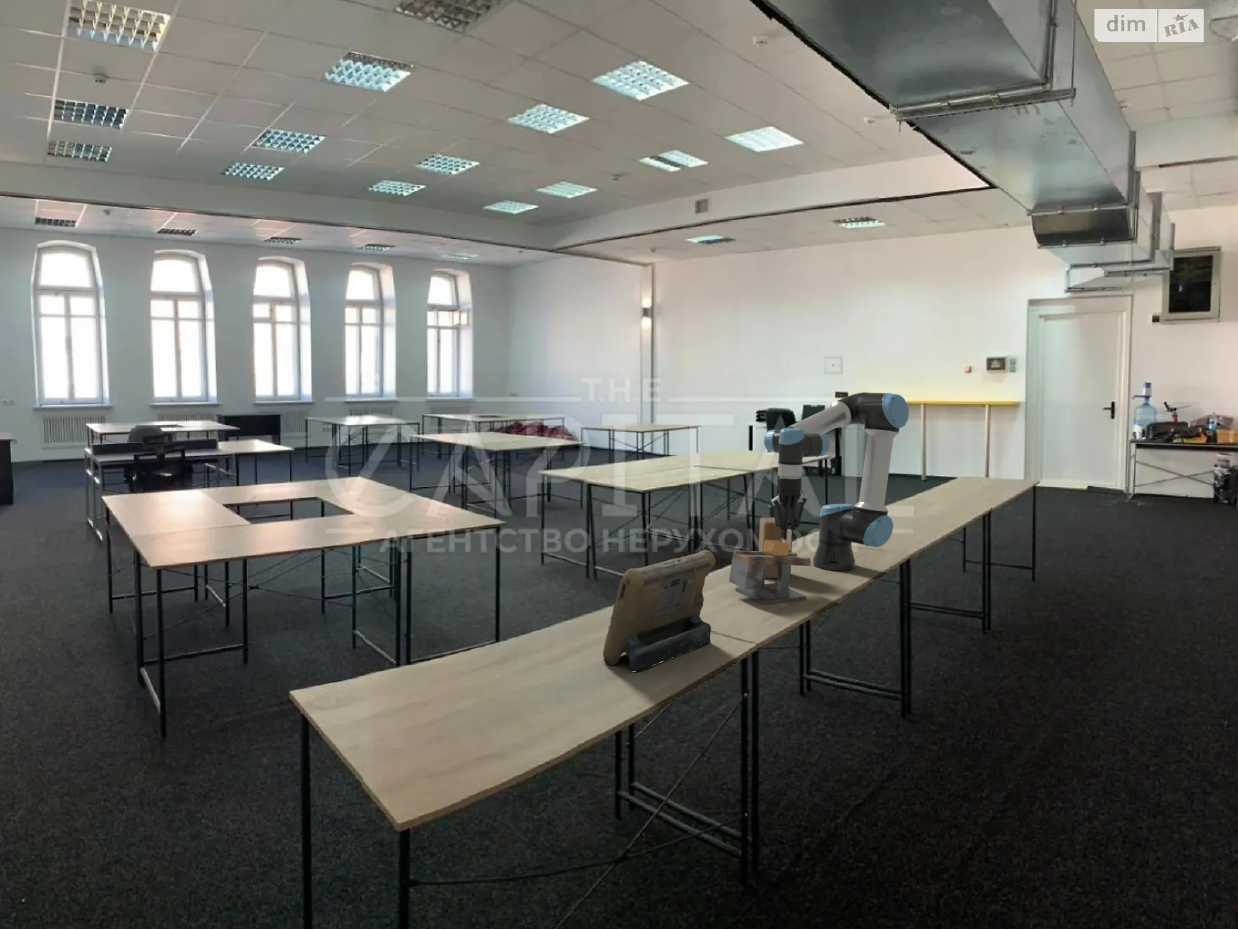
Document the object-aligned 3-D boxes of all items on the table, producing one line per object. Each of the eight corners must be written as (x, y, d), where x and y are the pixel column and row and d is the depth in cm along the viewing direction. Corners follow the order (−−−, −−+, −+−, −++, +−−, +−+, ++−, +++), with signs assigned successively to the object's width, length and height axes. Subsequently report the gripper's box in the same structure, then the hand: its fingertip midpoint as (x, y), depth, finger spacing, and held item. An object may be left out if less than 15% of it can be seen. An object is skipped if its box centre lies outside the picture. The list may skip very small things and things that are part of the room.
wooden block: (791, 579, 262) (793, 522, 259) (762, 579, 262) (764, 522, 260) (785, 571, 272) (787, 517, 269) (757, 571, 272) (759, 516, 269)
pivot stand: (776, 585, 254) (777, 550, 253) (806, 599, 240) (807, 562, 238) (735, 590, 248) (736, 554, 246) (763, 604, 233) (765, 566, 232)
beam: (789, 582, 252) (794, 552, 251) (806, 590, 244) (811, 559, 243) (729, 581, 242) (733, 550, 241) (744, 589, 234) (749, 556, 233)
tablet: (674, 629, 210) (677, 541, 207) (717, 641, 202) (720, 549, 199) (598, 663, 185) (599, 564, 182) (643, 678, 177) (645, 574, 173)
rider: (777, 555, 246) (779, 540, 246) (787, 559, 242) (789, 543, 241) (762, 554, 244) (764, 539, 243) (772, 558, 239) (774, 543, 239)
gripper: (798, 474, 247) (795, 545, 250) (765, 476, 242) (762, 548, 245) (813, 477, 240) (810, 550, 243) (779, 479, 235) (776, 553, 238)
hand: (786, 549), depth 244 cm, fingers closed
